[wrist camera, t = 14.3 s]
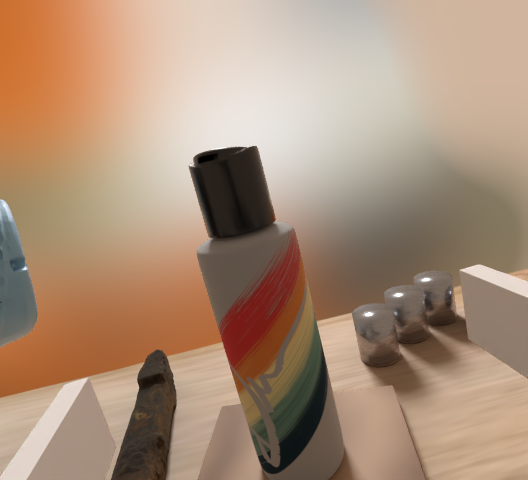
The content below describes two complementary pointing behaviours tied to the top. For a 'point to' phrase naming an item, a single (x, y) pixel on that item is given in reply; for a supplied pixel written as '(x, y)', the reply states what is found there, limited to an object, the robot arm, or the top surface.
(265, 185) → the lotion bottle
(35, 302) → the robot arm
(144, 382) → the hand tool
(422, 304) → the steel spacers
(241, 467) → the brown wooden flat board
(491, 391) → the top surface
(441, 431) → the top surface
